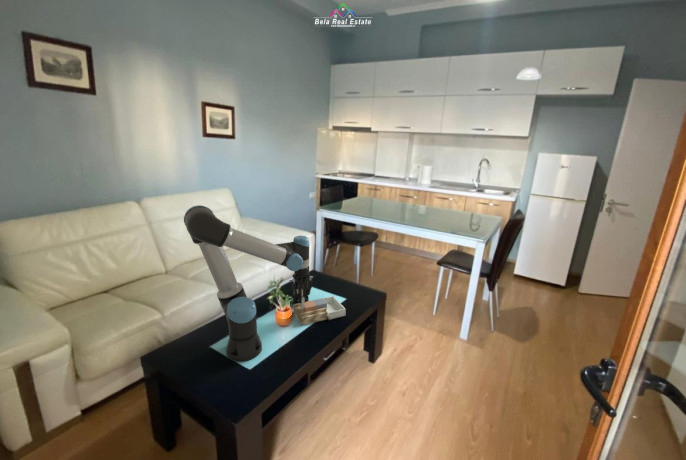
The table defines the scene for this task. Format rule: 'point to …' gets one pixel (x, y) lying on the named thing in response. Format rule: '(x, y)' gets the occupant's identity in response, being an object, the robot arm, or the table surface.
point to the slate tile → (320, 303)
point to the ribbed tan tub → (309, 315)
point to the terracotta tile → (310, 306)
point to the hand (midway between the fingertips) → (302, 307)
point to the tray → (334, 308)
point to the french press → (297, 292)
